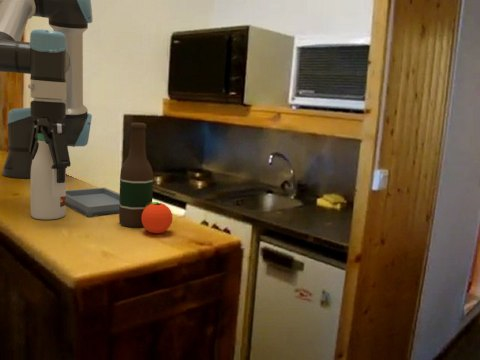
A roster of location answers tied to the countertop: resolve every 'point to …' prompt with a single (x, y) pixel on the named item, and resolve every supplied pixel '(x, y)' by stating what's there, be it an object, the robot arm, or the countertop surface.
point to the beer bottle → (135, 180)
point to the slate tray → (93, 201)
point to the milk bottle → (44, 185)
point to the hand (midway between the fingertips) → (48, 190)
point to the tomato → (156, 217)
